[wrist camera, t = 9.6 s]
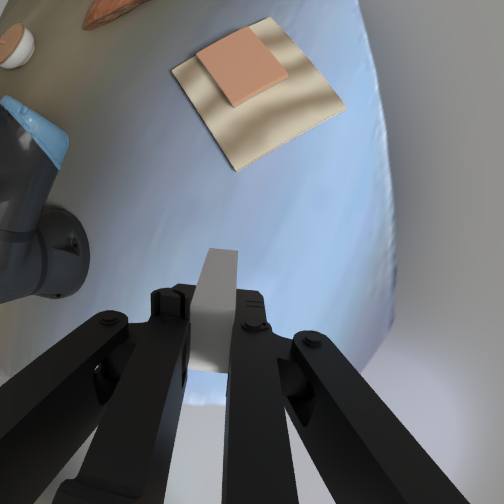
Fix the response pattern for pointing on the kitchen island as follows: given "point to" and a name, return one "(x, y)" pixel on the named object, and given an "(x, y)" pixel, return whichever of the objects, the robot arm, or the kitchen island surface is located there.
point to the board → (262, 101)
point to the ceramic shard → (108, 11)
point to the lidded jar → (16, 47)
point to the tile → (242, 66)
